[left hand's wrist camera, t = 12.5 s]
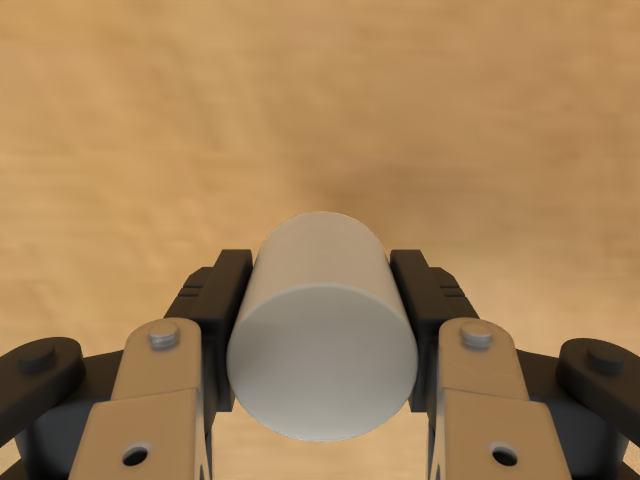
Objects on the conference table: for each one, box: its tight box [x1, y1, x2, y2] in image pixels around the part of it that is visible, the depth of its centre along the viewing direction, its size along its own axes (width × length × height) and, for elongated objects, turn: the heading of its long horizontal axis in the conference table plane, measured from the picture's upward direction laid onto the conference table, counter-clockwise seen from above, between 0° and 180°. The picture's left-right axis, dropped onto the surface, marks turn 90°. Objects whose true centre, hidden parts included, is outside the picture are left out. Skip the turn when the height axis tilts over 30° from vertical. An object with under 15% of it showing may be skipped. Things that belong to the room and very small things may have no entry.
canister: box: [226, 211, 419, 442], centre depth 10 cm, size 4×4×4 cm
